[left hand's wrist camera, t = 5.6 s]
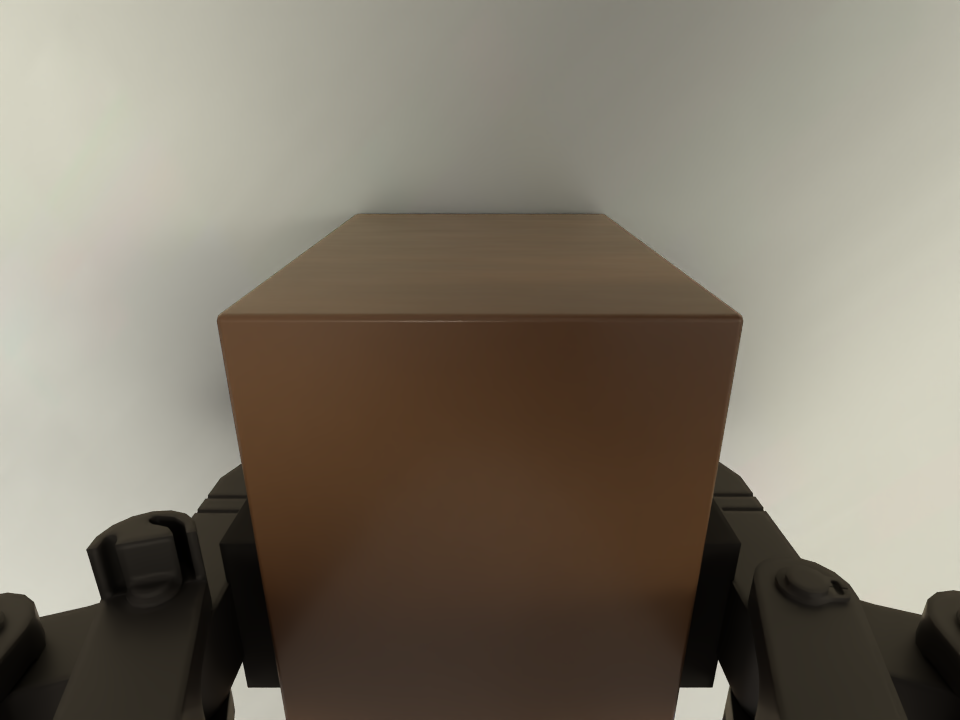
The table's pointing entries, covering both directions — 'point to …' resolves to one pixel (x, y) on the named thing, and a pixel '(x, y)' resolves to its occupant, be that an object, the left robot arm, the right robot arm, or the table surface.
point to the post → (480, 466)
